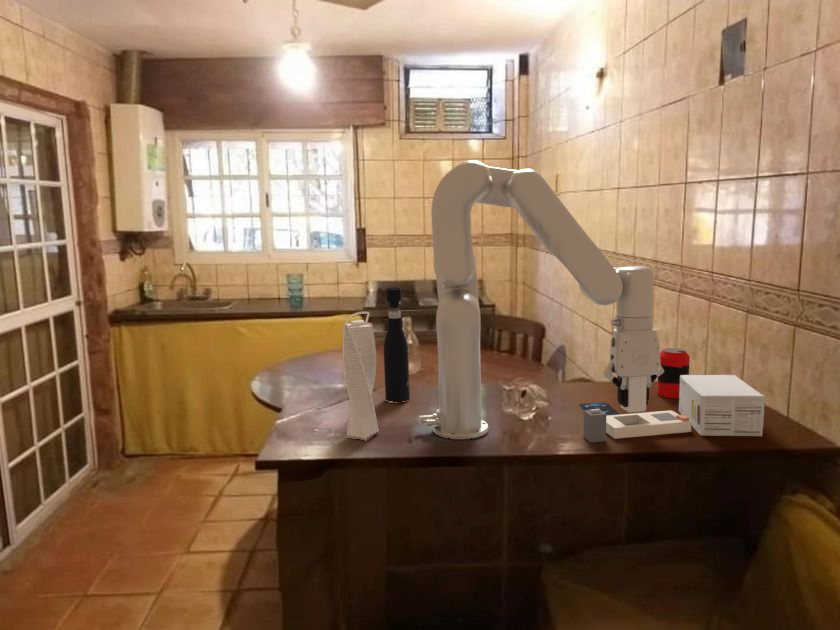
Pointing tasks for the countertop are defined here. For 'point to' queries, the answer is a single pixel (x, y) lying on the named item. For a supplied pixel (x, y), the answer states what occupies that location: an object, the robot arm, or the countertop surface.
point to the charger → (636, 394)
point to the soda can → (672, 371)
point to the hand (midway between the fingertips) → (633, 403)
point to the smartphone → (602, 406)
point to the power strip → (646, 424)
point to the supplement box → (721, 405)
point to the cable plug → (594, 425)
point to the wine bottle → (395, 352)
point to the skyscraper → (360, 375)
